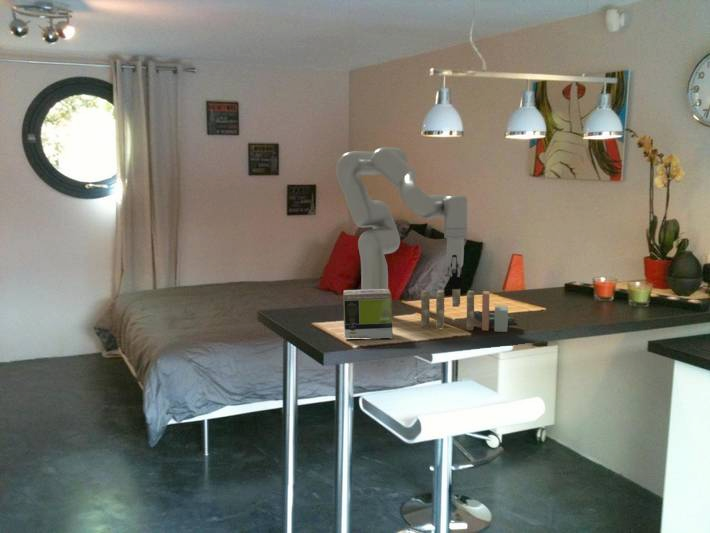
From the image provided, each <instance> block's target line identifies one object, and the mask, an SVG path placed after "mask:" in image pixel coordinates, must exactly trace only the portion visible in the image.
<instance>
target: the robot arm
mask: <svg viewBox="0 0 710 533" xmlns="http://www.w3.org/2000/svg"><path fill="white" fill-rule="evenodd" d="M408 160H409V159H408V156H407V154H406V152H405V151H404V150H403V149H401V148H400V147H395V146H394V147H390V146H383V147H379V148H377V149H376V150H373V151H371V150H370V151H364V150H353V151H348V152H345V153H343V155H341V156H340V158H339V159H338V161H337V163H336V169H335V173H336V174H335V175H336V178H337V182H338V185H339V186H340V189H341V191H342V194H343V196H344V198H345V202H346V204H347V207H348V211H349V212H350V217H351V218H352V221H353V223H354V225H356V226H357V227H359V228H372V229H368V230H365V231H364V232H362V233H361V235H360V236H359V238H358V242H357V246H358V248H357V249H358V251H359V253H358V254H359V257H360V270H361V271H360V275H361V280H360V281H361V290H365V289H389V271H388V268H389V267H388V263H387V260H386V256H385V255H388V254H393V253H395V252H396V251H397V250H398V249H399V247H400V244H401V237H400V234H399V230H398V228H397V224H396V222H395V220H394V216H393V214H392V212H391V209H390V207H389V206H388V205H387V204H386V203H385V202H384V201H382V200H378V199H377V200H376V199H375V200H373V199H372V198H371V197H370V194H369V191H368V188H367V187H366V185H365V183H364V181H362V180H361V178H360V176H374V175H383V177H384V178H385V179H386V180H388V181H389V182H390V183H391V184H392V185H393V186H394V187H395V188H396V189H397V190H398V194H399V196H400V198H401V200H402V202H403V204H404V205H406V207H408V209H410V211H412V212H413V213H414V214H415V215H417V216H418V217H420V218H423V219H434V218H435V219H436V218H437V219H438V218H442V217H443V224H444V225H443V234H444V235H443V236H444V237H443V238H444V239H446V263H445V267H446V268H447V269H450V277H449V286H450V287H449V289H450V290H452V289H460V290H461V287H462V286H463V274H462V267H463V266H464V256H465V249H464V248H465V242H464V240H465V239H468V199H467V197H466V196H465V195H444V194H429V195H428V194H426V193H425V192H424V191H423V190H422V189H421V188H419V186H418V185H416V183H415V180H416V178H417V171H416V170H415V168H413V167H411V165H409V164H408ZM459 268H460V277H459ZM457 270H458V271H457ZM392 317H393V313H392Z"/></svg>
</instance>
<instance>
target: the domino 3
mask: <svg viewBox="0 0 710 533" xmlns="http://www.w3.org/2000/svg"><path fill="white" fill-rule="evenodd" d="M457 271H458V270H457ZM459 277H460V268H459ZM451 291H452V293H451V294H452V295H451V298H452V307H453V308H459V307H460V306H461V288H460V289H451Z"/></svg>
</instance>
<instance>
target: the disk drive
mask: <svg viewBox="0 0 710 533" xmlns="http://www.w3.org/2000/svg"><path fill="white" fill-rule="evenodd" d="M474 320H476V321H478V322H479V323H481V324H482V311H481V310H474ZM494 324H495V310H489V327H490V326H494ZM509 325H515V319H514V317H513V316H511V315H509V314H508V326H509Z"/></svg>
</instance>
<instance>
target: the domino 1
mask: <svg viewBox="0 0 710 533" xmlns="http://www.w3.org/2000/svg"><path fill="white" fill-rule="evenodd" d="M430 295H431V294H430V289H423V290H422V291H421V292H420V304H421V306H420V307H421V308H420V311H421V312H420V313H421V314H420V316H421V318H420V319H421V321H420V322H421V323H420V328H421V329H428V328H429V326H430V324H431V322H430V319H431V318H430V314H431V313H430V304H431V302H430V298H431V297H430Z"/></svg>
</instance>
